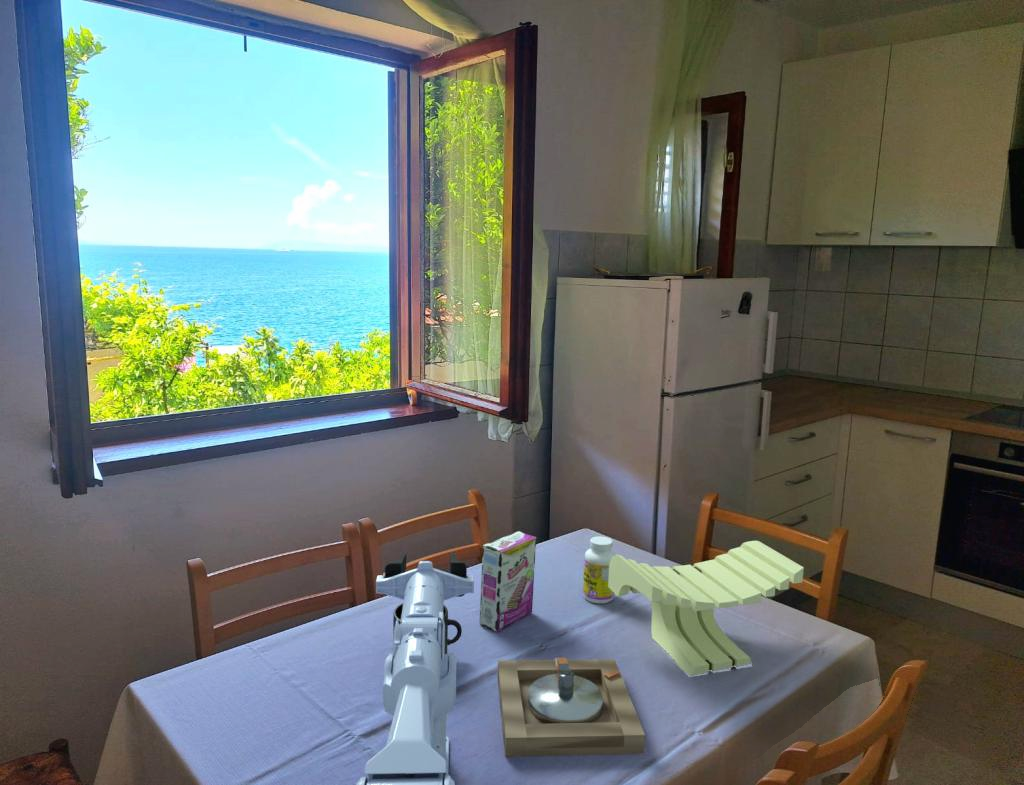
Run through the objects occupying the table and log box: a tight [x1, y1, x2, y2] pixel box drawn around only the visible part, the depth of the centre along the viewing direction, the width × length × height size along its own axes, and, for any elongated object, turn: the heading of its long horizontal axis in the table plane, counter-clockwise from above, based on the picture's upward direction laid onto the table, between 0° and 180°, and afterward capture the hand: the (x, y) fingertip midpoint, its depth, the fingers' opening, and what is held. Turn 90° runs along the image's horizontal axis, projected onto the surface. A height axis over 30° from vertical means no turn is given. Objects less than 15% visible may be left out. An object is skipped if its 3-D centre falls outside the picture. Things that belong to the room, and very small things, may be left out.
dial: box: [528, 657, 603, 724], centre depth 111 cm, size 12×12×5 cm
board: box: [496, 657, 646, 758], centre depth 111 cm, size 20×20×4 cm
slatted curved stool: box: [608, 540, 805, 676], centre depth 130 cm, size 30×16×18 cm, turn 108°
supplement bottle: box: [582, 536, 617, 605], centre depth 149 cm, size 7×7×13 cm
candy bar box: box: [479, 530, 537, 633], centre depth 139 cm, size 11×5×16 cm, turn 141°
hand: (428, 558), depth 115 cm, fingers open, 7 cm apart
